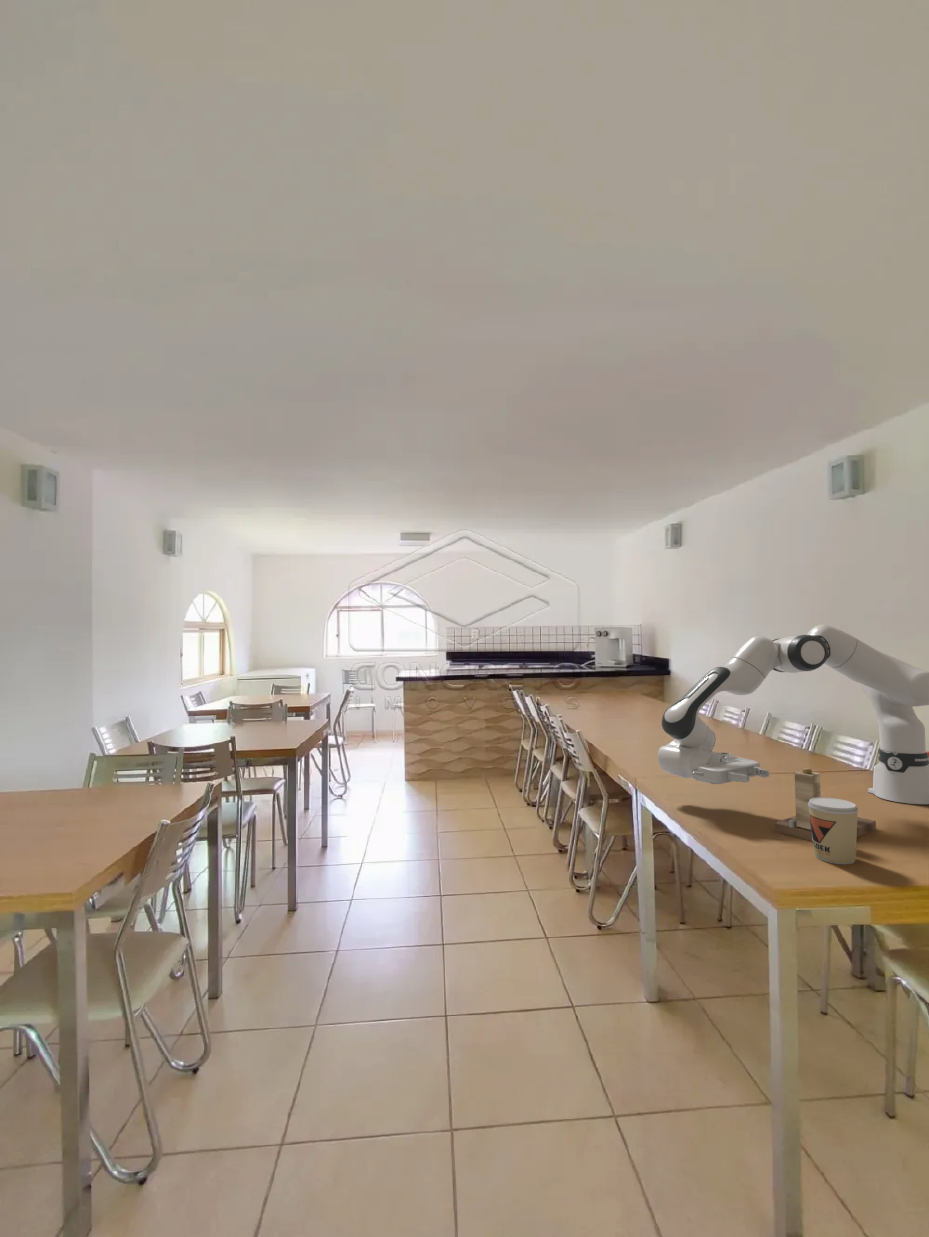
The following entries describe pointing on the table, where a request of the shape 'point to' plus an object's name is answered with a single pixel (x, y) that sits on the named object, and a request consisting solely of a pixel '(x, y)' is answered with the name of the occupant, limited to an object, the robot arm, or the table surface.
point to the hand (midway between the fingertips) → (758, 776)
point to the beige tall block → (805, 795)
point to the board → (791, 829)
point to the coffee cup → (833, 829)
